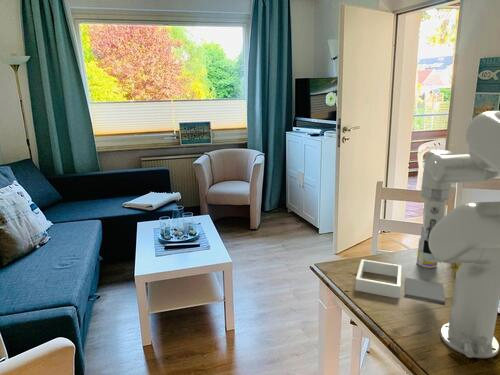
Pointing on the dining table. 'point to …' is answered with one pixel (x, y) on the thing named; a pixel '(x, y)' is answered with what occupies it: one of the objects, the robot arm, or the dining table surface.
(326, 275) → the dining table surface
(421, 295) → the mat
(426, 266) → the supplement bottle
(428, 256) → the medicine box
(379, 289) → the bin
